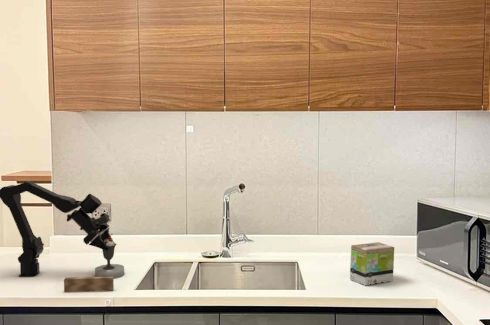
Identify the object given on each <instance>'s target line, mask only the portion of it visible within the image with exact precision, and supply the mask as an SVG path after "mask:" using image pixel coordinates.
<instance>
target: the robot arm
mask: <svg viewBox="0 0 490 325" xmlns="http://www.w3.org/2000/svg"><path fill="white" fill-rule="evenodd" d="M25 192H27V193H29V194H31V195H34V196H35V197H37V198H40V199H42V200H44V201H46V202H48V203H50V204H52V205H53V206H54V207H55V208H56V209H57V210H58V211H60V212H62V214H63V213H64V214H67V213H69V214H67V215H66V222H70V221H74V222H75V223H76V224H77V225H78V227H80V228H79V230H80V231H84V232H85V234H87V235H85V237H84V238H83V243H84V244H85V245H86V246H87V245H88V246H92V247H95V248H97V249H100V250H102V249H103V250H106V251H107V250H108V249H109V248H108V247H107V246H106V244H105V243H104V242H103V239H107V238H108V237H110V235H111V233H110V225H109V224H108V223H109V222H110V221H111V219H110V215H109V214H108V213H105V212H103V213H100V217H98V218H96V217H91V216H90V215H89V214H93V213H95V212H96V211H97V210H98V209H99V208H100V207H101V205H102V204H103V203H102V201H101V200H100V199H99V197H96V196H95V195H93V194H92V193H88V194H87V195H86V196H85V198H84V199H83V200H76V199H75V198H74V197H71V196H67V195H63V194H59V193H55V192H54V191H52V190H50V189H48V188H45V187H44V186H41V185H39V184H38V183H36V182H34V181H32V180H27V181H24V182H22V183H19V184H16V185H15V184H12V185H7V186H3V187H0V200H1V202H2V203H3V204H4V205H5V206H6V207H7V208H8V209H9V211H10V214H11V216H12V218H13V221H14V223H15V225H16V228H17V230H18V233H19V235H20V237H21V240H22V241H21V242H22V243H21V248H22V253H21V254H20V255H19V256H18V257H17V261H18V263H19V264H20V265H19V266H20V268H19V269H20V274H19V275H18V277H35V276H37V275H38V274H39V273H40V262H39V257H40V255H41V254H42V253H43V251H44V245H45V244H44V242H43V240H42V237H41V236H38V237H37V236H36V235H35V234H34V232H33V229H32V228H31V225H30V223H29V220H28V217H27V215H26V214H25V211H24V209H23V206H22V203H21V202H22V196H21V194H23V193H25ZM70 212H71V213H70ZM111 239H112V241H113V242H114V243H115V241H114V240H113V237H111ZM103 250H102V251H103Z"/></svg>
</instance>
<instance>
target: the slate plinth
mask: <svg viewBox="0 0 490 325" xmlns="http://www.w3.org/2000/svg"><path fill="white" fill-rule="evenodd" d="M110 265H111V266H114V267H115V268H114V269H110V270H105V269H103V267H106V266H107V264H102V265H98V266H96V267H95V268H94V277H113V280H114V279H118V278H121V277H123V276H125V266H124V265H123V264H117V263H110Z"/></svg>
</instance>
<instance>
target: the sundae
mask: <svg viewBox="0 0 490 325" xmlns="http://www.w3.org/2000/svg"><path fill="white" fill-rule="evenodd" d="M112 235H114V234H113V233H110V237H108V238H107V239H103V242H104V243H105V244H106V246H107V247H108V248H109V249H108V250H107V251H106V250H103V249H101V250H102V254H103V258H104V259H105V260H106V261H107V262H106V263H107V264H106V265H107V266H106V267H103V269H105V270H110V269H114V268H115V267H114V266H111V265H110V264H111V260H112V259H114V258H113V257H114V255H115V248H116V246H117V245H118V244H117V243H116V242H115V241H114V240H113V238H112ZM111 238H112V239H111ZM112 240H113V241H114V242H113V241H112Z"/></svg>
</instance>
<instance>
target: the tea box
mask: <svg viewBox="0 0 490 325" xmlns="http://www.w3.org/2000/svg"><path fill="white" fill-rule="evenodd" d="M394 261H395V247H394V246H393V245H388V244H385V243H382V242H379V241H378V242H369V243H360V244H352V245H351V247H350V263H349V264H350V267H349V268H350V269H349V280H351V281H353V282H355V281H356V282H355V283H357V282H358V283H357V284H359V283H361V284H360V285H362V284H364V285H366V286H370V284H371V285H376V284H375V283H377V284H382V283H381V282H384V283H388V282H387V281H392V282H393V281H394V267H395V266H394V263H395V262H394ZM364 285H363V286H364Z"/></svg>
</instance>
